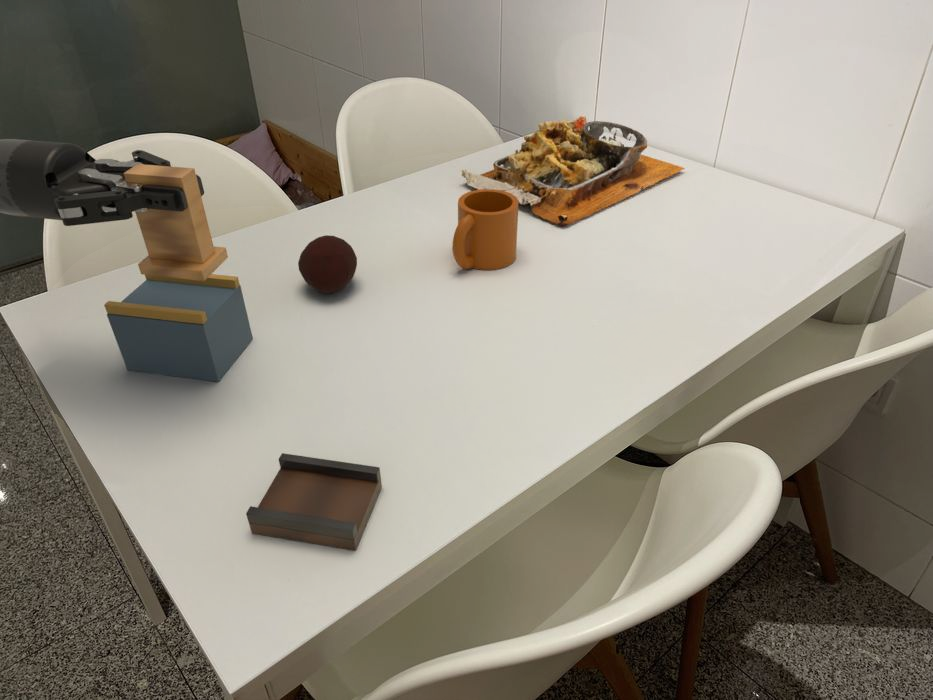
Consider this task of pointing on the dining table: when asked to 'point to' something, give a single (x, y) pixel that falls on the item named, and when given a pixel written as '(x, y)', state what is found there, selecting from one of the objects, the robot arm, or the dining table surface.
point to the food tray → (573, 170)
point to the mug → (486, 230)
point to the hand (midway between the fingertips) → (192, 192)
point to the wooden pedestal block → (176, 228)
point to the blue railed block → (182, 326)
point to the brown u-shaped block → (317, 502)
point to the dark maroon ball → (328, 264)
